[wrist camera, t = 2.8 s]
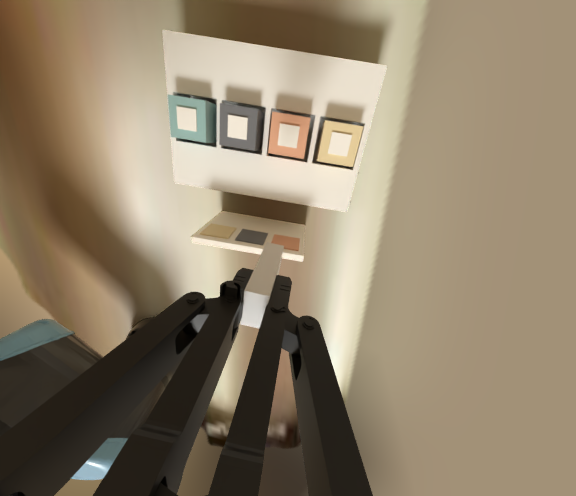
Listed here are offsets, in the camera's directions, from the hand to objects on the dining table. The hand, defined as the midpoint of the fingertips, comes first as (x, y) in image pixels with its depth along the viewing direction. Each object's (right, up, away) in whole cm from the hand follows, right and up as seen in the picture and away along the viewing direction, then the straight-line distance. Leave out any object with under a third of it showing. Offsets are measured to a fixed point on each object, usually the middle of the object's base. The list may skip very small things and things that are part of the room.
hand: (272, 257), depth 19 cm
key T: (+7, +14, +10) cm, 19 cm away
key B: (+2, +15, +10) cm, 18 cm away
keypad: (-1, +17, +12) cm, 21 cm away
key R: (-10, +17, +10) cm, 22 cm away
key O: (-4, +16, +10) cm, 19 cm away
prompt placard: (-3, +5, +18) cm, 19 cm away
